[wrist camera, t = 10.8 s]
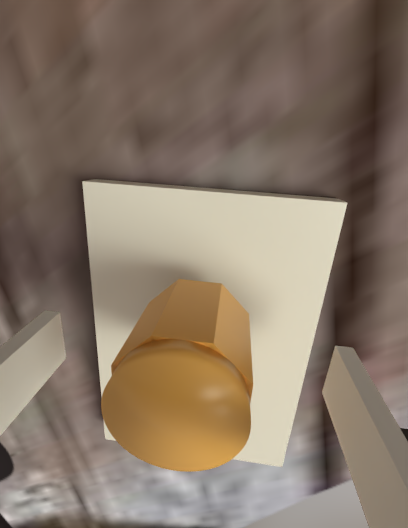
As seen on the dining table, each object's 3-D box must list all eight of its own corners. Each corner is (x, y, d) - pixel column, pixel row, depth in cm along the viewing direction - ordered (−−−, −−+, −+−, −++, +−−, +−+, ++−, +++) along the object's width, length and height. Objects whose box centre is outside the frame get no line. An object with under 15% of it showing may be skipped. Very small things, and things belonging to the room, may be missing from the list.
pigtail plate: (95, 179, 17) (-30, 201, 9) (337, 198, 16) (435, 243, 8) (112, 422, 24) (52, 551, 16) (279, 448, 23) (300, 599, 15)
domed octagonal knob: (149, 275, 15) (95, 347, 9) (252, 286, 14) (261, 369, 9) (149, 358, 17) (105, 459, 11) (241, 370, 16) (241, 481, 11)
